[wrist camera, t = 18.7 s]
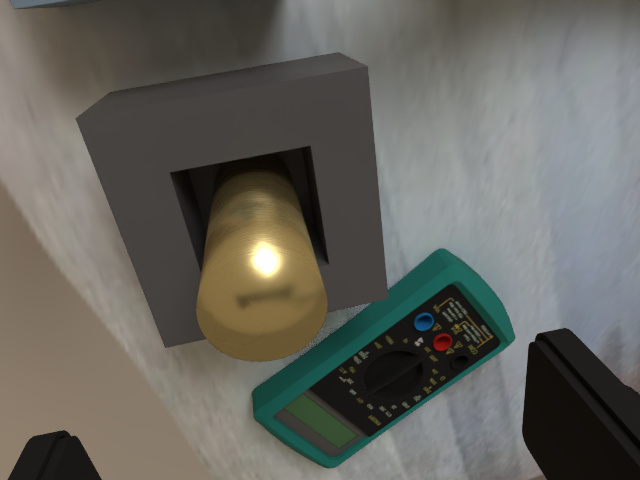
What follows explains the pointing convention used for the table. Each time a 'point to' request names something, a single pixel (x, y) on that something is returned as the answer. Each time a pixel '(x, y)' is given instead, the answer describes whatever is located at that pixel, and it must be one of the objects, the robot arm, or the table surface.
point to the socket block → (45, 3)
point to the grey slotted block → (232, 144)
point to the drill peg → (258, 265)
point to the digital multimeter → (385, 361)
